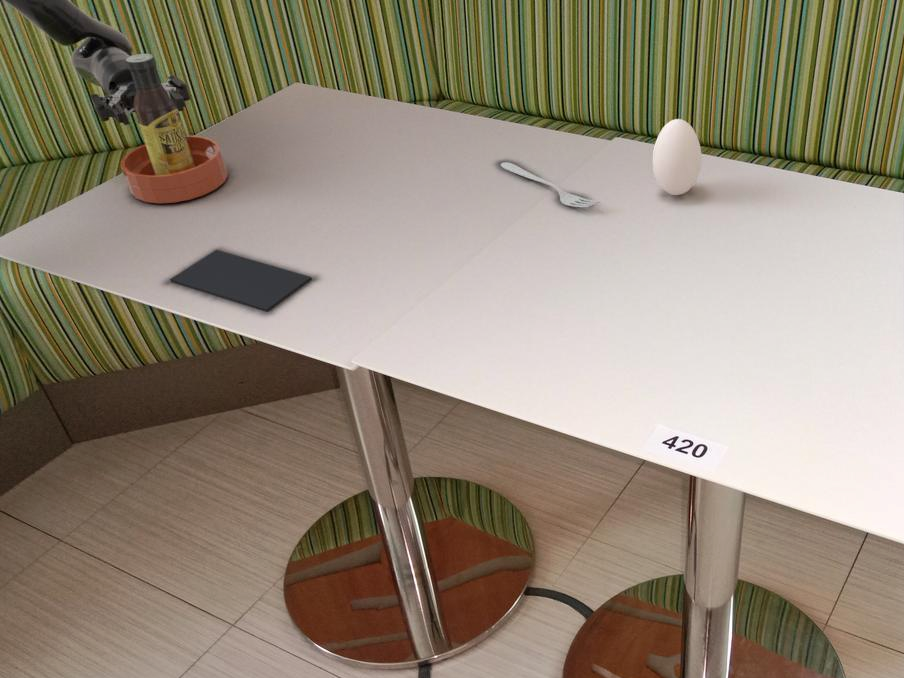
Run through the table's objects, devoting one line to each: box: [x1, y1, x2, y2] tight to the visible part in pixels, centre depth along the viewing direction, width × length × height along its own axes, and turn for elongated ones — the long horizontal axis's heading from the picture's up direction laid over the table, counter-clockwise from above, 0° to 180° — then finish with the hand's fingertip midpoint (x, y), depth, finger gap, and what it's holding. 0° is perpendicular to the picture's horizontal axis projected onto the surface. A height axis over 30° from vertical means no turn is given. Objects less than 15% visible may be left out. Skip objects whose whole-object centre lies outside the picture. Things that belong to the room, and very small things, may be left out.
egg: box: [652, 118, 702, 196], centre depth 147 cm, size 7×7×12 cm
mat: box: [169, 249, 313, 313], centre depth 135 cm, size 18×9×1 cm, turn 62°
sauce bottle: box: [126, 53, 195, 175], centre depth 152 cm, size 6×6×20 cm
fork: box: [500, 161, 602, 208], centre depth 153 cm, size 3×24×2 cm, turn 40°
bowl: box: [120, 134, 229, 204], centre depth 157 cm, size 15×15×5 cm
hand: (152, 111), depth 153 cm, fingers open, 8 cm apart
